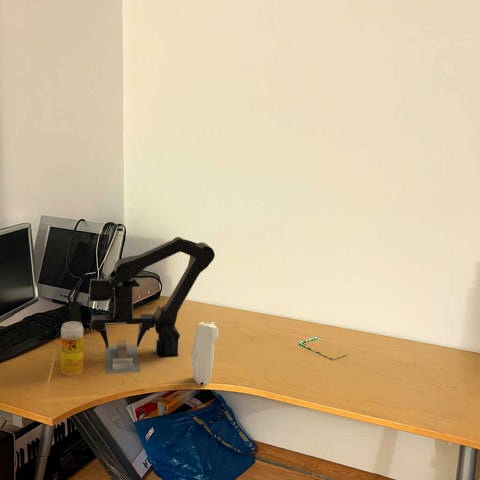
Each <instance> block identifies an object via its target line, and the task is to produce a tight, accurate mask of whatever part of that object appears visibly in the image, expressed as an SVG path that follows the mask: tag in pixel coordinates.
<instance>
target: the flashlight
mask: <svg viewBox="0 0 480 480" xmlns="http://www.w3.org/2000/svg"><path fill="white" fill-rule="evenodd" d="M194 334H195V336H194V338H193V344H192V349H191V350H192V351H191V364H192V365H191V366H192V377H193V378H194V382H195V383H196V384H197V385H201V383H203V384H202V385H203V386H206V385H209V384H210V381H211V377H212V373H213V367H214V359H215V341H216V340H218V339H219V329H218V326H216V323H215V322H214V321H211V322H210V321H208V322H206V321H201V322H199V323H198V324H197V327H196V328H195V333H194Z"/></svg>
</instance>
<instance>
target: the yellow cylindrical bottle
mask: <svg viewBox="0 0 480 480" xmlns="http://www.w3.org/2000/svg"><path fill="white" fill-rule="evenodd" d="M83 371H84V326H83V324H82V322H81V321H75V320H74V321H67V322H66V321H65V322H64V323H62V326H61V328H60V373H61V375H63V376H67V377H69V376H70V377H72V376H73V377H74V376H78V375H80V374H82V372H83Z"/></svg>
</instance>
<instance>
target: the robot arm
mask: <svg viewBox="0 0 480 480" xmlns="http://www.w3.org/2000/svg"><path fill="white" fill-rule="evenodd" d="M179 253H183V254H185V255H188V256H189V258H188V264H187V267H186V269H185V271H184V272H183V274H182V276H181V277H180V279H179V281H178V283H177V284H176V286H175V288H174V290H173V291H172V293H171V295H170V297H169V299H168V300H167V302H166V303H165V304H164V305H163V306H160V305H157V308H156V309H155V312H154V313H153V314H152V313H140V315H139V317H133V313H134V312H133V311H134V288H139V287H140V286H141V284H140V282H139V281H138V280H137V279H136V277H137V276H138V275H139V274H141V272H142V271H144V270H145V269H146V268H148V267H150V266H152V265H154V264H156V263H159V262H161V261H163V260H165V259H167V258H170V257H171V256H174V255H175V254H179ZM215 255H216V254H215V251H214V249H213V248H212V247H211V246H210V245H208V244H207V243H206V242H203V241H202V242H198V243H197V242H194V241H192V240H189V239H185V238H182V237H180V236H175V237H174V238H173V239H171V240H169V241H167V242H165V243H162V244H161V245H158V246H156V247H154V248H152V249H149V250H147V251H145V252H143V253H141V254H137V255H130V256H127V257H122V258H120V259H118V260H116V261H115V264H114V266H113V270H112V271H111V272H110V273H109V274H108V276H107V278H101V279H100V278H99V279H98V278H90V281H89V288H88V290H89V291H88V295H89V296H88V297H89V299H88V300H89V302H108V301H109V300H111V299H112V298H113V301H109V302H108V312H109V313H110V312H113V318H111V317H110V318H106V314H94V315H93V316H92V317H91V330H94V331H96V332H97V333H99V334H100V335H101V337H102V339H103V341H104V344H105V348H106V347H107V348H108V346H109V337H108V330H107V326H108V325H109V326H111V325H112V326H115V325H138V331H137V338H136V345H137V348H139V346H140V344H141V342H142V339H143V337H144V335H145V334H146V332H147V331H150V329H154V330H155V333H157V339H156V340H155V354H156V355H157V357H158V358H161V359H162V358H176V357H177V358H179V339H180V336H181V334H180V333H179V331H178V329H177V327H176V326H175V325H176V322H177V318H178V313H179V310H180V308H181V307H182V306H183V303H184V301H185V300H186V298H187V297H188V295H189V293H190V292H191V290H192V288H193V286H194V284H195V283H196V280H197V279H198V277H199V276H200V274H201V273H202V272H204V270H206V269H207V268H208V267H209V265H210V264H212V262H213V261H214V259H215ZM113 288H114V297H113Z"/></svg>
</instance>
